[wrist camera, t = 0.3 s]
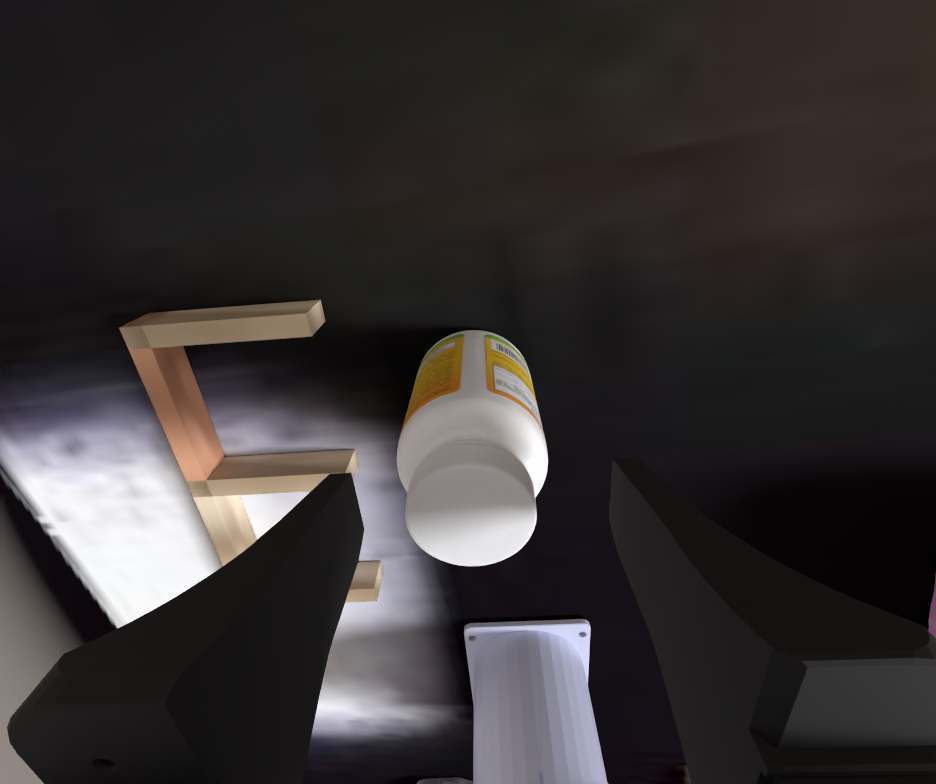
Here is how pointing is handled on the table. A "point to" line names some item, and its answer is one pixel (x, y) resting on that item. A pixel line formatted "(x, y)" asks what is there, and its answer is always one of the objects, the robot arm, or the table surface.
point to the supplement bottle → (472, 451)
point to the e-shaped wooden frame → (194, 435)
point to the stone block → (445, 781)
